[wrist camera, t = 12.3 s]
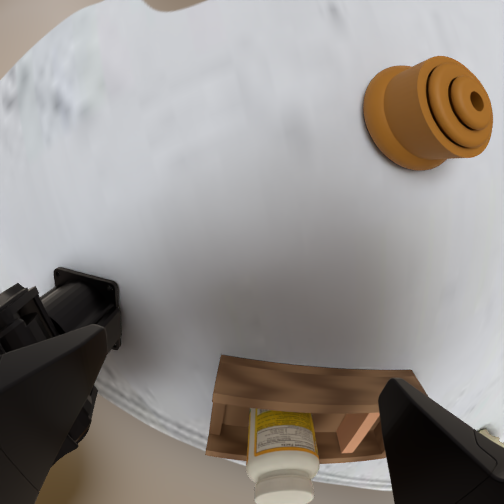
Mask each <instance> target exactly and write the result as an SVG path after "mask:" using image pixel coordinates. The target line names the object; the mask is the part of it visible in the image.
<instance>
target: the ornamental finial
mask: <svg viewBox="0 0 504 504" xmlns="http://www.w3.org/2000/svg"><path fill="white" fill-rule="evenodd" d="M363 110H364V118H365V122H366V126H367V129H368V131H369V133H370V135H371V137H372V139H373V141H374V142H375V144H376V145H377V147H378V148H379V149H380V150H381V152H382V153H383V154H384V155H385V156H387V157H388V158H389V159H390V160H392V161H393V162H394V163H396V164H398V165H400V166H402V167H404V168H407V169H411V170H429V169H432V168H435V167H437V166H439V165H441V164H442V163H443V162H444V161H446V160H447V159H451V158H471V157H475V156H477V155H479V154H481V153H482V152H483V151H484V149H485V148H486V147H487V145H488V143H489V140H490V137H491V132H492V126H493V113H492V107H491V102H490V99H489V97H488V94H487V92H486V91H485V89H484V87H483V86H482V84H481V83H480V81H479V80H478V79H477V78H476V76H475V75H474V74H473V73H472V72H470V70H468V69H467V68H466V67H465V66H464V65H463V64H461V63H460V62H458V61H456V60H454V59H452V58H449V57H445V56H436V57H432V58H430V59H428V60H426V61H423V62H421V63H419V64H417V65H415V66H413V67H410V66H393V67H389V68H386V69H384V70H382V71H381V72H379V73H378V74H377V75H376V76H375V77H374V78H373V79H372V80H371V82H370V83H369V85H368V87H367V89H366V92H365V96H364V104H363Z"/></svg>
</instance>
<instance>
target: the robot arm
mask: <svg viewBox="0 0 504 504" xmlns="http://www.w3.org/2000/svg"><path fill="white" fill-rule="evenodd" d="M58 272H59V273H60V275H59V273H58ZM54 280H55V287H54V288H53V289H51V290H50V291H48V292H47V293H46V294H44V295H43V296H41V297H39V295H38V294H39V292H38V290H37V288H36V286H34V287H32V288H30V289H28V288H24V287H22V286H21V285H20V284H19V283H17V284H15V285H14V286H12V287H10V288H9V289H7V290H6V291H4V292H2V293H1V294H0V504H34V503H35V501H36V499H37V497H38V494H39V491H40V489H41V487H42V485H43V483H44V481H45V479H46V476H47V474H48V472H49V470H50V468H51V467H52V466H53V465H54V464H55V463H56V462H57V461H58V460H59V459H60V458H62V457H63V456H64V455H65V454H67V453H69V452H71V451H73V450H75V449H76V448H77V447H78V443H79V442H80V441H81V440H82V439H83V438H84V437H85V436H86V434H87V432H88V430H89V427H90V424H91V418H92V413H93V409H94V404H95V400H96V396H97V392H98V390H97V388H96V387H95V386H94V383H95V381H96V378H97V376H98V374H99V372H100V369H101V367H102V365H103V363H104V360H105V358H106V356H107V354H108V353H109V351H110V350H111V349H114V350H118V349H119V347H120V346H121V341H120V337H121V335H122V333H121V318H120V310H119V308H118V289H117V285H116V283H115V282H113V281H110V280H106V279H102V278H98V277H94V276H91V275H87V274H83V273H79V272H75V271H72V270H68V269H64V268H61V267H58V268H56V269H55V270H54ZM109 286H111V287H112V289H113V290H112V289H110V287H109ZM115 344H116V345H115ZM378 406H379V413H380V421H381V430H382V438H383V443H384V448H385V453H386V458H387V463H388V468H389V473H390V479H391V484H392V490H393V496H394V502H395V504H504V448H503V447H502V446H500V445H498V444H496V443H495V442H493V441H491V440H490V439H488V438H487V437H485V436H484V435H482V434H481V433H479V432H478V431H476V430H475V429H473V428H472V427H470V426H469V425H468V424H466V423H465V422H463V421H462V420H460V419H459V418H457V417H456V416H455V415H453V414H452V413H450V412H449V411H447V410H446V409H445V408H443V407H442V406H440V405H439V404H438V403H436V402H435V401H433V400H432V399H430V398H429V397H428V396H426V395H425V394H423V393H422V392H421V391H419V390H418V389H416V388H415V387H414V386H412V385H411V384H409V383H408V382H407V381H405V380H404V379H402V378H390V379H389V380H388V382H387V383H386V385H385V387H384V388H383V390H382V392H381V393H380V395H379V398H378Z"/></svg>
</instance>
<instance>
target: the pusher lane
mask: <svg viewBox="0 0 504 504" xmlns="http://www.w3.org/2000/svg"><path fill="white" fill-rule="evenodd" d="M390 378H402V379H404V380H405V381H407V382H408V383H409V384H411V385H412V386H414V387H415V388H416V389H418V390H419V391H421V392H422V393H423V394H425V395H426V396H428V395H427V394H426V392H425V391H424V389H423V387H422V386H421V384H420V383H419V381H418V379H417V378H416V376H415V375H414V373H413V371H412V370H359V369H338V368H323V367H311V366H300V365H290V364H281V363H273V362H265V361H258V360H251V359H244V358H238V357H232V356H226V355H221V357H220V362H219V367H218V372H217V377H216V382H215V387H214V392H213V399H212V402H213V407H212V414H211V422H210V429H209V436H208V442H207V447H206V454H205V455H208V456H214V457H220V458H227V459H234V460H243V461H247V447H248V431H249V413H250V408H255V409H264V410H274V411H286V412H301V413H311V414H312V420H313V425H314V431H315V437H316V444H317V449H318V455H319V464H328V463H345V462H357V461H367V460H375V459H382V458H386V453H385V448H384V443H383V438H382V430H381V421H380V415H379V417H378V418H377V420H376V421H375V423H374V424H373V426H372V427H371V429H370V430H369V431H368V433H367V434H366V436H365V437H364V438H363V440H362V441H361V442H360V444H359V445H358V446H357V448H356V449H355V450H354V452H353V453H341V450H340V446H339V441H338V437H337V433H336V430H337V429H338V427H339V426H340V424H341V422H342V421H343V419H344V417H345V416H346V414H350V413H378V412H379V406H378V398H379V395H380V393H381V392H382V390H383V388H384V387H385V385H386V383H387V382H388V380H389V379H390Z"/></svg>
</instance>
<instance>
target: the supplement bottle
mask: <svg viewBox="0 0 504 504" xmlns="http://www.w3.org/2000/svg"><path fill="white" fill-rule="evenodd" d="M319 465H320V464H319V455H318V449H317V444H316V437H315V431H314V425H313V420H312V414H311V413H301V412H286V411H274V410H264V409H255V408H250V413H249V431H248V447H247V462H246V471H247V474H248V476H249V478H250V479H251V480H252V481H253V482H255V483H256V486H255V487H254V499H255V503H256V504H307V503H309V502H310V501H311V500H313V497H314V490H313V484H312V481H311V479H312V478H313V477H314V476H315V475H316V474H317V472H318V470H319Z"/></svg>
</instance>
